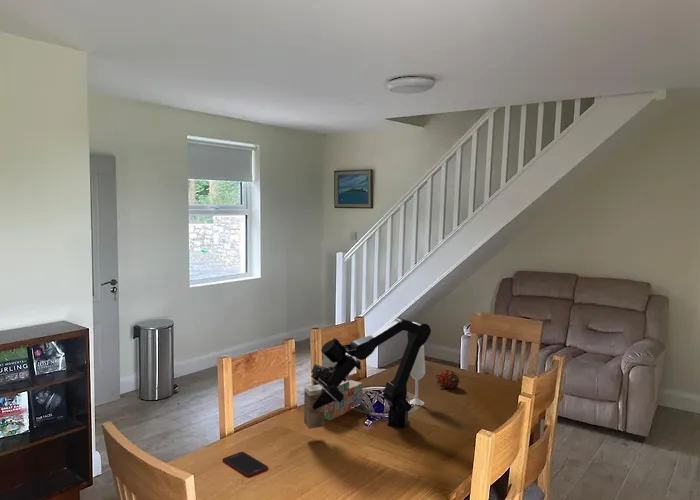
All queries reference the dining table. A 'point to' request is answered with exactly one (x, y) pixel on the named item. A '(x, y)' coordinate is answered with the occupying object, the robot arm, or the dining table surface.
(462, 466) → the dining table surface
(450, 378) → the dragon fruit
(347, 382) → the stack of blocks
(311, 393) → the silver metal block
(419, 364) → the champagne flute
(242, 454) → the cell phone
